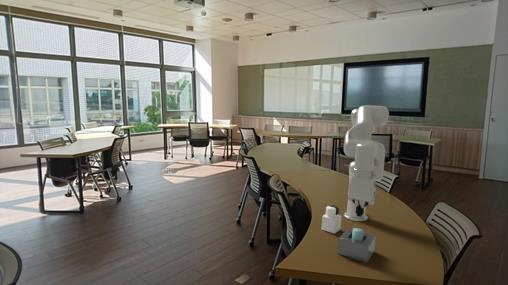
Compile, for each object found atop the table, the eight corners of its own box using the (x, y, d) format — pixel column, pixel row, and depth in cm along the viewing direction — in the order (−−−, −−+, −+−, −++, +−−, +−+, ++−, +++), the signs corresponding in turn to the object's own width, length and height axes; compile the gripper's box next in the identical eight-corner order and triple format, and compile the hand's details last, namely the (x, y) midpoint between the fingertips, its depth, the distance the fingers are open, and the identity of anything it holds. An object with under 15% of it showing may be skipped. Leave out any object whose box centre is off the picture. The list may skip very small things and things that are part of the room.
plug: (352, 249, 134) (354, 227, 132) (362, 252, 131) (364, 229, 130) (349, 253, 130) (351, 230, 129) (359, 256, 128) (362, 233, 126)
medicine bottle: (327, 225, 158) (329, 203, 157) (340, 229, 154) (342, 206, 152) (320, 229, 153) (322, 206, 151) (334, 234, 148) (336, 210, 147)
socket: (346, 243, 139) (347, 228, 138) (374, 251, 132) (375, 236, 131) (337, 253, 129) (338, 237, 128) (367, 263, 123) (368, 246, 122)
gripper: (384, 174, 125) (380, 217, 128) (348, 168, 133) (344, 208, 136) (380, 178, 119) (375, 223, 122) (342, 171, 127) (338, 214, 130)
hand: (359, 215), depth 129 cm, fingers closed
